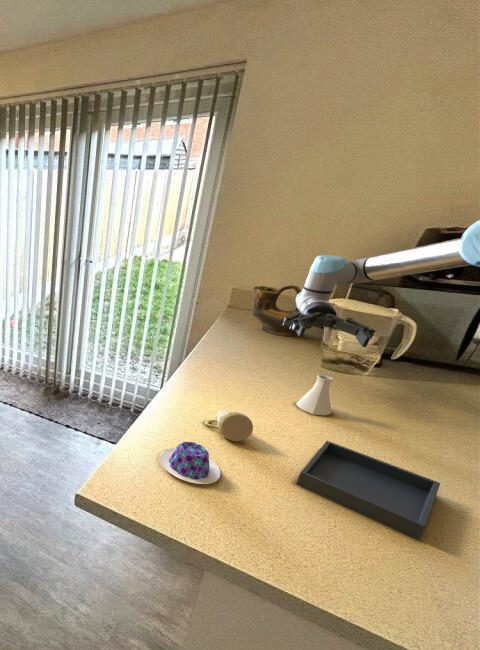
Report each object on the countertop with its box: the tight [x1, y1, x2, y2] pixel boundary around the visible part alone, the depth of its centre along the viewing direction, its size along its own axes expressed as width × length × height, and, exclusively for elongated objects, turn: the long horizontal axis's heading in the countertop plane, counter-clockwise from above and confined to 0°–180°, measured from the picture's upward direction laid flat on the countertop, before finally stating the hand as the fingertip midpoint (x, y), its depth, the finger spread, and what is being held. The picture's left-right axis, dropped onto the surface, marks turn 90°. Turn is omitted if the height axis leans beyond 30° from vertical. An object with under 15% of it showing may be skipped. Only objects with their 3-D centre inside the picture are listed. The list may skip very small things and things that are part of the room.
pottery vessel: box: [251, 284, 313, 338], centre depth 158 cm, size 25×11×20 cm, turn 38°
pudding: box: [159, 441, 221, 485], centre depth 86 cm, size 12×12×5 cm
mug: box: [204, 410, 254, 442], centre depth 98 cm, size 8×10×10 cm
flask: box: [295, 374, 335, 416], centre depth 106 cm, size 7×7×10 cm
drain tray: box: [295, 440, 441, 541], centre depth 79 cm, size 18×18×3 cm
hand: (333, 337), depth 106 cm, fingers open, 13 cm apart
